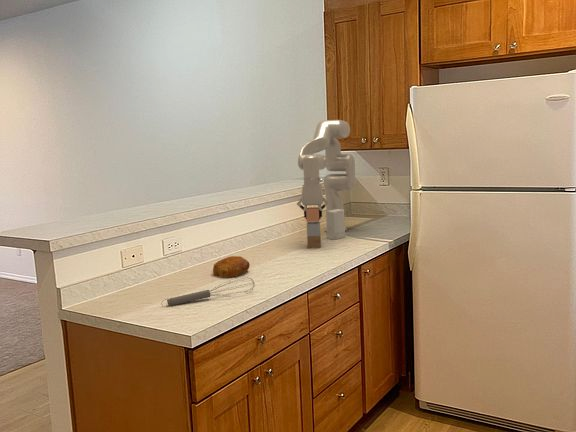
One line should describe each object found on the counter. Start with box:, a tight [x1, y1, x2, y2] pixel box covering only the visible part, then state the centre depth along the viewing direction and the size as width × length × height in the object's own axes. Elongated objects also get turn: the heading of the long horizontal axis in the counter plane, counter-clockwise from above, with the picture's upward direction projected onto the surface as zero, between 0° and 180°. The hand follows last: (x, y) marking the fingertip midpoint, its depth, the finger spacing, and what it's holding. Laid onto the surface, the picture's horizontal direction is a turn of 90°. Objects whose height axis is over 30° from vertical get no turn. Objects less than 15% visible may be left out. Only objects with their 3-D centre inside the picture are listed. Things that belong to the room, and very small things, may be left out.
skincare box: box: [325, 209, 346, 241], centre depth 300 cm, size 8×6×15 cm
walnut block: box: [306, 235, 322, 249], centre depth 281 cm, size 6×6×6 cm
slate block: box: [306, 221, 321, 237], centre depth 280 cm, size 6×6×6 cm
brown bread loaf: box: [212, 255, 251, 279], centre depth 237 cm, size 14×16×8 cm
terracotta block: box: [305, 206, 321, 222], centre depth 279 cm, size 6×6×6 cm
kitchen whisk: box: [161, 276, 256, 307], centre depth 202 cm, size 6×34×6 cm, turn 114°
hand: (313, 218), depth 279 cm, fingers closed on terracotta block, 5 cm apart
